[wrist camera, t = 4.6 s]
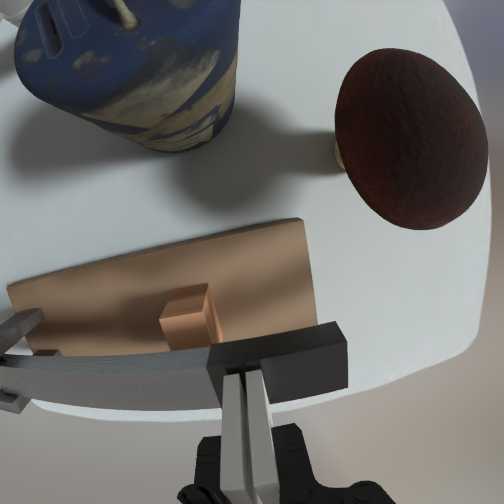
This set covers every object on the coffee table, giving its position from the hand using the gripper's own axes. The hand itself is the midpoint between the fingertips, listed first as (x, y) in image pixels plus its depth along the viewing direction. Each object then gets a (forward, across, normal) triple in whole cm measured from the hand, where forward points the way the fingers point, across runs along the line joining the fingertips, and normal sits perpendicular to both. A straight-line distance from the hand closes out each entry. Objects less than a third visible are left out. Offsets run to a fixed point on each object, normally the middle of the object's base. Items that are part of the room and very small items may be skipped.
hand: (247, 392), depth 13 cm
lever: (+3, -9, 0) cm, 10 cm away
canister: (+13, -2, +18) cm, 23 cm away
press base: (+13, -10, 0) cm, 16 cm away
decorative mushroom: (+13, +12, +11) cm, 21 cm away
